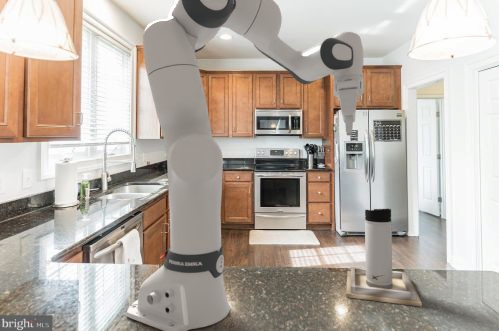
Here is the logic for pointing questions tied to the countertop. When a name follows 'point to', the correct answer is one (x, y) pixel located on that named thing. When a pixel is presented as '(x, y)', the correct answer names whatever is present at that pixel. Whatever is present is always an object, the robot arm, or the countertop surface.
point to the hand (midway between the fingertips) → (349, 134)
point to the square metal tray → (397, 294)
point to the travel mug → (378, 248)
